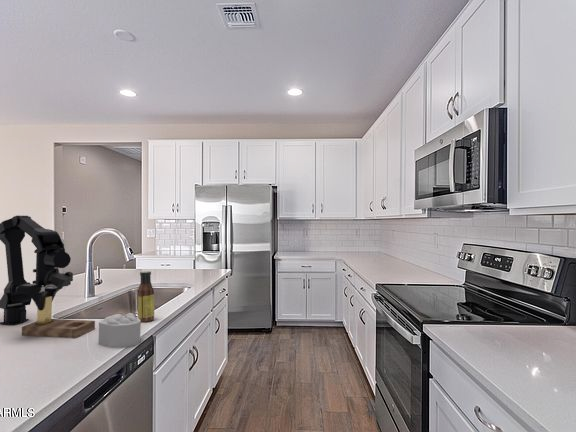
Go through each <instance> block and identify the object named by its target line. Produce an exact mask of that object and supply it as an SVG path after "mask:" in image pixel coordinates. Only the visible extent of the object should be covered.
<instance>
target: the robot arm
mask: <svg viewBox="0 0 576 432" xmlns="http://www.w3.org/2000/svg"><path fill="white" fill-rule="evenodd" d="M26 234H27V235H28V236H30V238H31V243H32V245H34V247H35V248H36V249H34V251H33V252H34V253H35V254H36V256H35V257H36V259H35V262H36V263H35V268H33V269H32V273H35V280H32V283H31V282H27V280H26V279H25V273H24V263H23V261H24V260H23V253H22V242H23V240H24V238H25V236H26ZM0 241H1V242H2V244H4V246H5V247H4V248H5V257H6V258H5V259H6V267H7V279H8V281H7V284H6V285H5V287H4V288H3V294H2V297H1V298H0V309H1V310H3V321H0V325H10V326H11V325H13V326H14V325H19V324H21V323H24V322H27V321H30V320H29V318H27V309H26V308H27V306H31V303H32V300H33V302H34V305H35V306H36V308H37V307H38V309H39V310H43V306H44V296H52V302H53V301H54V298H55V296H56V294H57V293H58V292H59V291H60V290H62V289H63V288H64V287H68V286H71V282H73V281H74V279H73V278H74V276H73V275H74V274H73V272H72V271H67V272H65V273H63V272H60V269H64V268H65V269H66V267H68V266H69V265H70V263H71V256H70V254H69V253H68V252H66V248H65V244H64V242H63V241H62V238H61V236H60V234H59V233H58V232H57V231H56V230H53V229H49V228H48V229H47V228H45V227H43V226H41V225H40V224H39V223H37V221H35V220H33V219H32V217H31V216H29V215H19V214H18V215H14V216H13V217H11V218H9V219H5V220H3V221H1V222H0Z"/></svg>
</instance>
